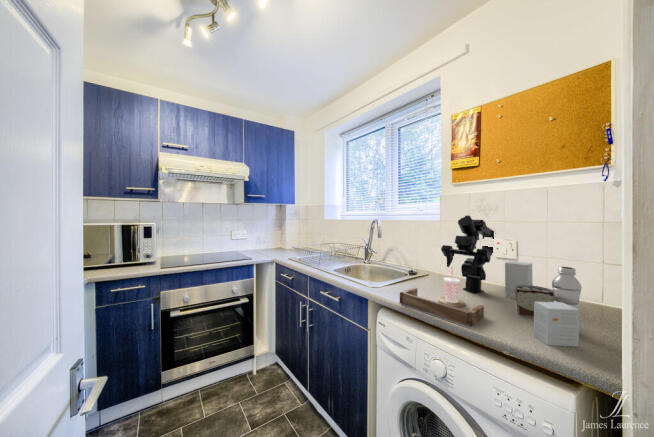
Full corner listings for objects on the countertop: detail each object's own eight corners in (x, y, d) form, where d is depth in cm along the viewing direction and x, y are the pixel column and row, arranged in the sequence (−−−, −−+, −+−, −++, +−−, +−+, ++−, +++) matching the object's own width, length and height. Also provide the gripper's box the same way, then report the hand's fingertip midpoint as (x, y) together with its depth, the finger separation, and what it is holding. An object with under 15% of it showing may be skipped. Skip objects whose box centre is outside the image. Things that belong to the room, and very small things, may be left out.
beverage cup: (444, 302, 97) (444, 268, 97) (442, 297, 103) (442, 265, 103) (461, 304, 95) (461, 269, 95) (458, 299, 101) (459, 266, 101)
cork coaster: (444, 296, 106) (444, 295, 106) (469, 302, 98) (469, 301, 98) (433, 301, 100) (433, 300, 100) (459, 309, 92) (459, 307, 92)
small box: (561, 336, 71) (562, 302, 71) (579, 347, 66) (580, 309, 66) (532, 335, 72) (533, 300, 72) (547, 345, 67) (548, 308, 66)
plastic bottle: (584, 339, 70) (586, 271, 70) (553, 333, 74) (555, 268, 73) (576, 330, 76) (578, 267, 75) (548, 324, 79) (549, 264, 79)
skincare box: (533, 299, 102) (534, 263, 102) (527, 302, 99) (528, 265, 98) (509, 294, 109) (510, 260, 109) (503, 296, 106) (504, 261, 105)
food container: (546, 313, 89) (547, 286, 88) (556, 320, 83) (557, 291, 82) (507, 308, 93) (507, 282, 92) (513, 314, 87) (514, 287, 87)
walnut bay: (414, 296, 106) (414, 287, 106) (483, 317, 85) (483, 305, 85) (399, 302, 99) (399, 292, 99) (471, 326, 78) (471, 314, 78)
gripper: (443, 228, 113) (431, 253, 106) (488, 230, 98) (478, 260, 92) (450, 243, 118) (439, 268, 111) (494, 247, 104) (485, 277, 97)
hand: (458, 268), depth 103 cm, fingers open, 9 cm apart
